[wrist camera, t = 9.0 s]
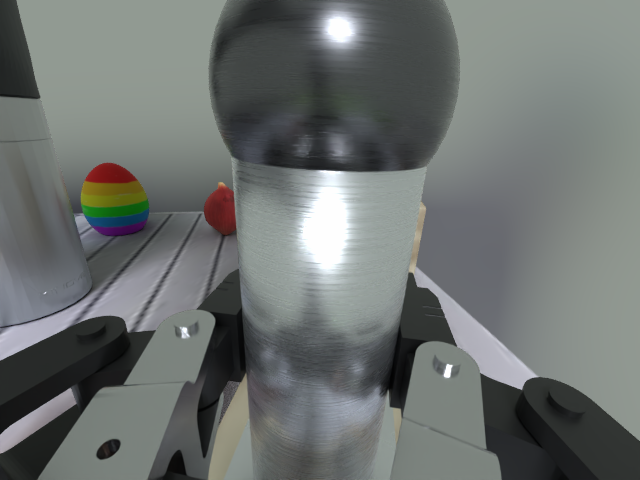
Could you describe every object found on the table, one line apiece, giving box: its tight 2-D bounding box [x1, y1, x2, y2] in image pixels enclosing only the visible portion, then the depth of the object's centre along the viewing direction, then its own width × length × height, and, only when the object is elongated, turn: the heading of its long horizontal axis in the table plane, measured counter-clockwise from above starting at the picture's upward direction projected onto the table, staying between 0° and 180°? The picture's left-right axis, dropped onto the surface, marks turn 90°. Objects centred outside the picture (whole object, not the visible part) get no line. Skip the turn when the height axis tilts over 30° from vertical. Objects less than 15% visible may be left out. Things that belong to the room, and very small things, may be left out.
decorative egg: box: [81, 163, 149, 236], centre depth 43 cm, size 8×8×10 cm
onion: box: [204, 182, 236, 235], centre depth 43 cm, size 6×6×8 cm
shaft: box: [209, 0, 460, 480], centre depth 12 cm, size 6×13×16 cm, turn 171°
